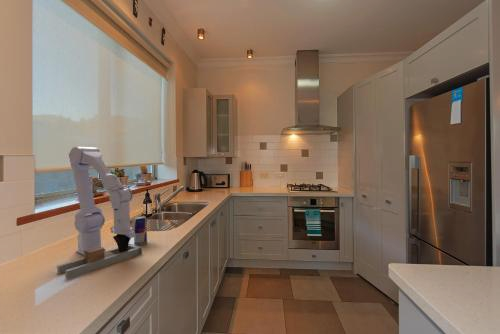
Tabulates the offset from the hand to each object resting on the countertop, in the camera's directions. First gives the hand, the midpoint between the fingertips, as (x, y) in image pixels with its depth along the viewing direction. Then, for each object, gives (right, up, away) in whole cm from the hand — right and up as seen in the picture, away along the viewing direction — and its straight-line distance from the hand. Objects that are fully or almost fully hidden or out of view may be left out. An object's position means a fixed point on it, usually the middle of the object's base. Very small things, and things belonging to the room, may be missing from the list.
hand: (123, 252), depth 101 cm
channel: (-5, -2, -7) cm, 9 cm away
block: (-5, -2, -7) cm, 9 cm away
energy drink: (+1, -1, +15) cm, 15 cm away
